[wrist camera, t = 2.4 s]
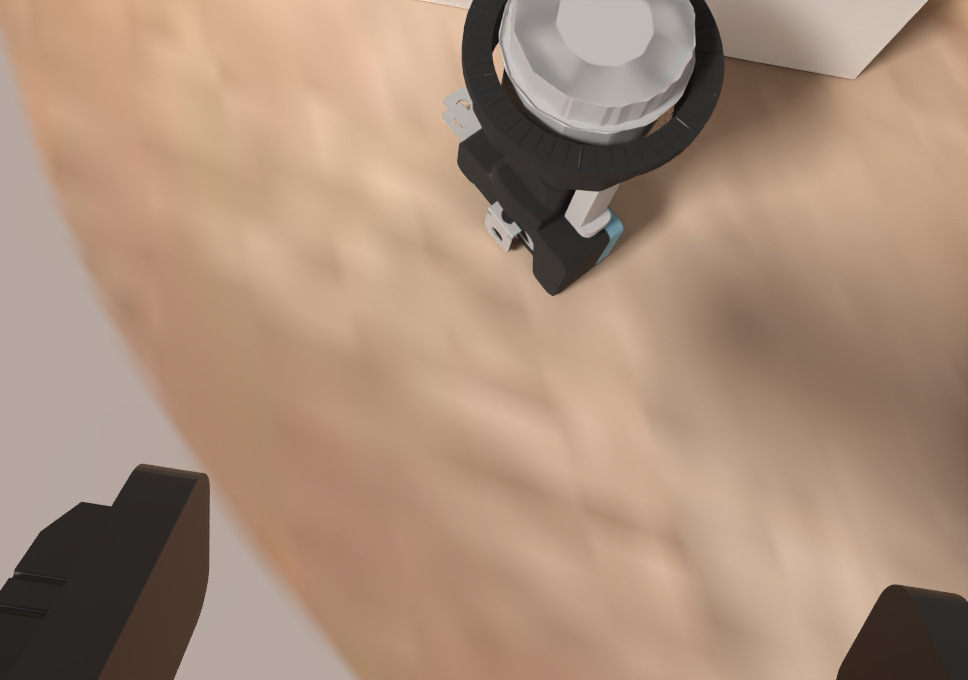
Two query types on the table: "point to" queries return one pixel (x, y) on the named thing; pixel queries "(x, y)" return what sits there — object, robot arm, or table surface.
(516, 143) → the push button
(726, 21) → the tray
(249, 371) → the table surface
